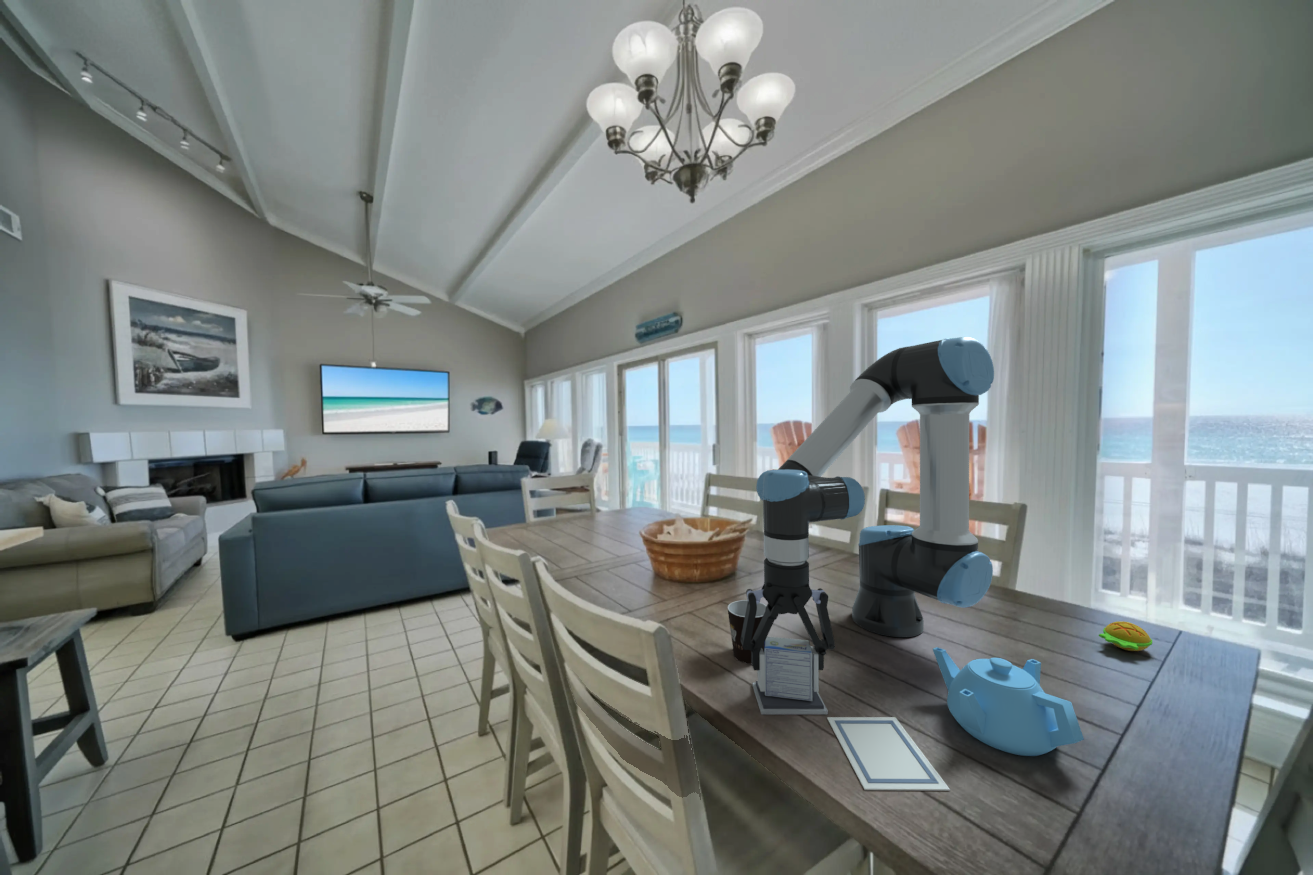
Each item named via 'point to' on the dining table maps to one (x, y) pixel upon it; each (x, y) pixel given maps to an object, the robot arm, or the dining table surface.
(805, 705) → the ink pad
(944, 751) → the dining table surface
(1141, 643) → the toy burger
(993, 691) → the teapot
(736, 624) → the coffee mug
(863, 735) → the print sheet
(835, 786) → the dining table surface
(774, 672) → the medicine box
